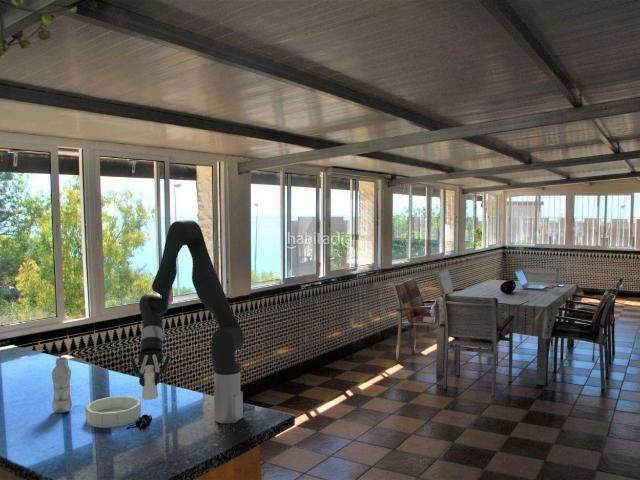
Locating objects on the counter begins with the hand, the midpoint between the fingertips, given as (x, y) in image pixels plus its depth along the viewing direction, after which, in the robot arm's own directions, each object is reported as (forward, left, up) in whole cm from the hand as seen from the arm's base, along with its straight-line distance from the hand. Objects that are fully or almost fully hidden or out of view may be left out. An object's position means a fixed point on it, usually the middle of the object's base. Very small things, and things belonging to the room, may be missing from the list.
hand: (149, 384), depth 181 cm
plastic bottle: (+40, -4, -16) cm, 43 cm away
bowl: (+18, -5, -15) cm, 24 cm away
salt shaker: (+1, -2, -5) cm, 6 cm away
